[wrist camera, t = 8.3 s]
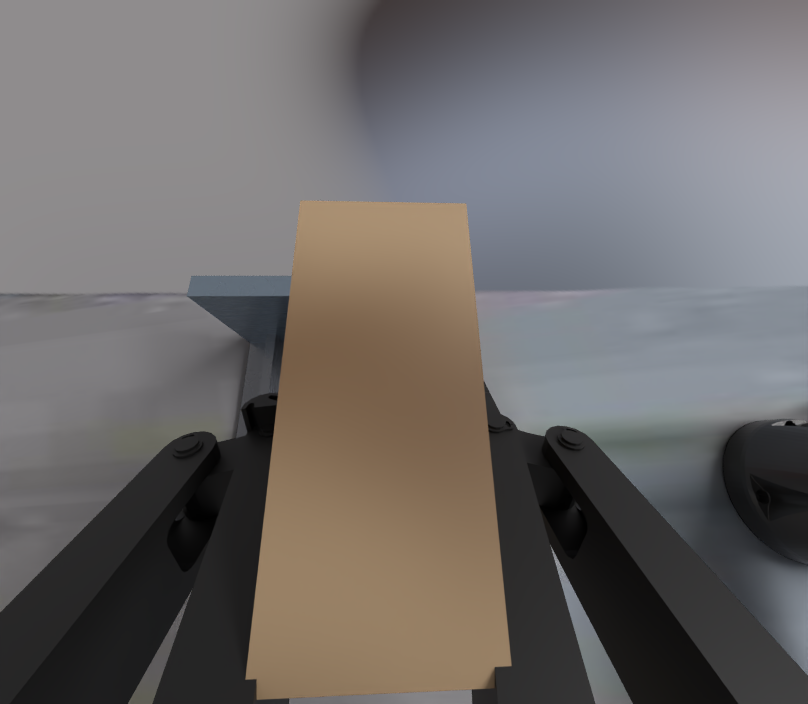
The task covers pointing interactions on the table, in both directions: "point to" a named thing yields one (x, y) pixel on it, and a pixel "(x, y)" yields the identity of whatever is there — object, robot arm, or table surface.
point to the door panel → (379, 466)
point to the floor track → (250, 323)
